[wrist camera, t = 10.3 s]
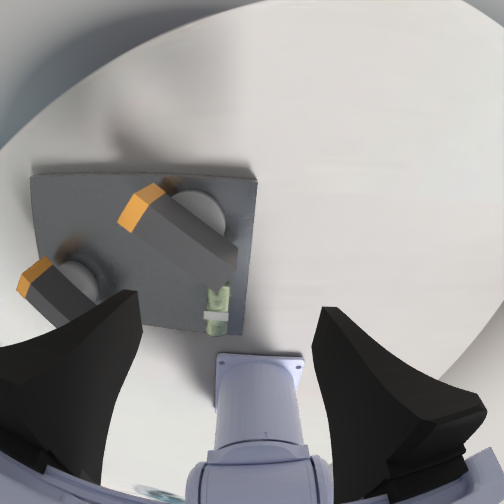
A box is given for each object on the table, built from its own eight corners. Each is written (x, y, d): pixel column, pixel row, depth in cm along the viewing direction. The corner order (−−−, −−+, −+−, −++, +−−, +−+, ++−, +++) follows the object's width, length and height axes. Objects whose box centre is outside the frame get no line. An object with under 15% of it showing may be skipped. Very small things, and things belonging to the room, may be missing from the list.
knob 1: (117, 294, 21) (94, 327, 17) (95, 323, 22) (74, 355, 18) (57, 239, 19) (25, 262, 15) (41, 273, 20) (13, 299, 16)
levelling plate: (242, 326, 24) (241, 350, 21) (56, 300, 23) (41, 317, 20) (257, 179, 19) (258, 187, 16) (38, 174, 18) (15, 181, 15)
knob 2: (251, 227, 19) (252, 253, 15) (211, 273, 20) (202, 308, 16) (169, 164, 17) (146, 173, 13) (134, 216, 19) (106, 239, 14)
